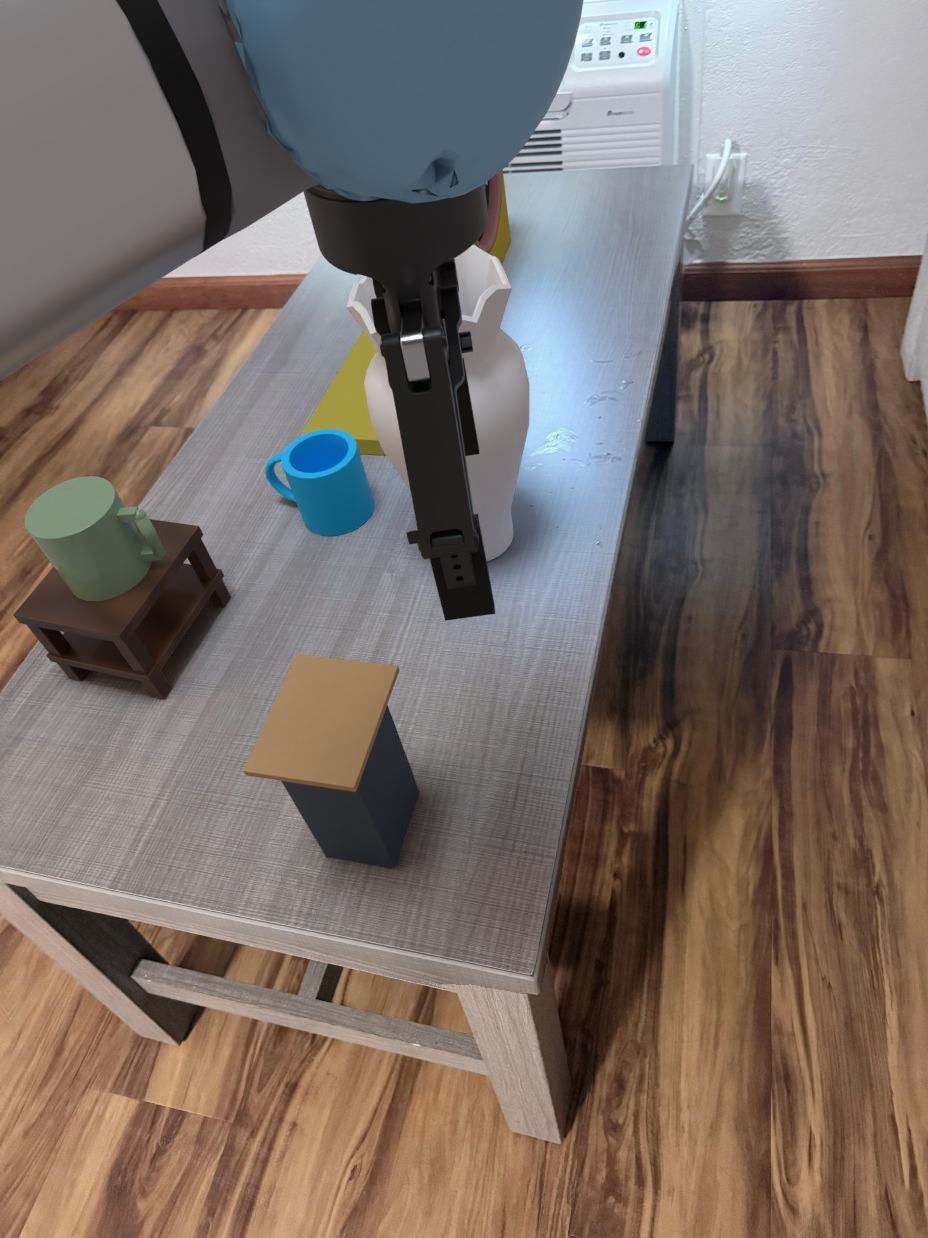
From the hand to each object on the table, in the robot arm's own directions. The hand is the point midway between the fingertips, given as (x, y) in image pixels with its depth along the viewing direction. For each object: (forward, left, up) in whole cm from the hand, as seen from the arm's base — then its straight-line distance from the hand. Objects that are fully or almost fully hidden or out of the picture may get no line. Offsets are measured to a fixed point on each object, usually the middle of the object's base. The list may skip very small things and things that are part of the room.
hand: (463, 526), depth 52 cm
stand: (-11, +5, -29) cm, 31 cm away
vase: (+17, +24, -29) cm, 41 cm away
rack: (-14, +39, -29) cm, 50 cm away
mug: (+9, +41, -29) cm, 51 cm away
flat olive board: (+27, +53, -29) cm, 66 cm away
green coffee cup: (-13, +38, -19) cm, 44 cm away
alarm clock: (+53, +66, -29) cm, 89 cm away
